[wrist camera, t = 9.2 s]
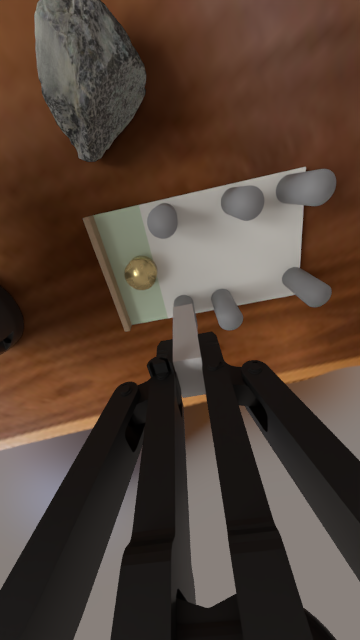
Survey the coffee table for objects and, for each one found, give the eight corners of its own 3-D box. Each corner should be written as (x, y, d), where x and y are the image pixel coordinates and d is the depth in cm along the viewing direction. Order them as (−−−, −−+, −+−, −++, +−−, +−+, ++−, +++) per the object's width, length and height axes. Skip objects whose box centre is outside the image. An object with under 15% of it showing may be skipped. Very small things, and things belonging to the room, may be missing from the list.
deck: (128, 322, 39) (117, 351, 32) (90, 216, 31) (64, 223, 24) (298, 290, 37) (328, 314, 30) (306, 166, 29) (349, 157, 21)
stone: (113, 123, 18) (20, -74, 14) (68, 174, 25) (-4, 55, 21) (180, 108, 24) (129, -39, 19) (127, 154, 31) (80, 55, 26)
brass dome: (131, 286, 35) (128, 291, 33) (124, 257, 33) (120, 261, 31) (159, 282, 34) (158, 288, 32) (154, 253, 32) (152, 257, 30)
